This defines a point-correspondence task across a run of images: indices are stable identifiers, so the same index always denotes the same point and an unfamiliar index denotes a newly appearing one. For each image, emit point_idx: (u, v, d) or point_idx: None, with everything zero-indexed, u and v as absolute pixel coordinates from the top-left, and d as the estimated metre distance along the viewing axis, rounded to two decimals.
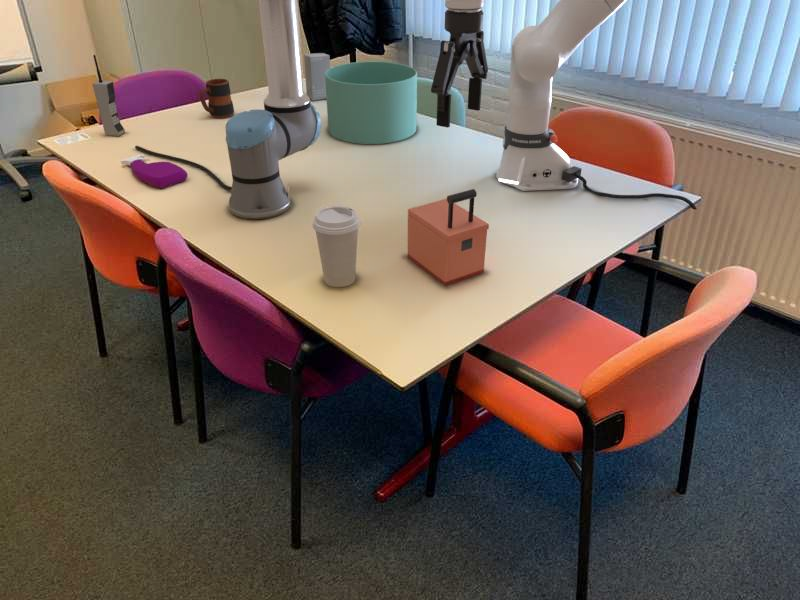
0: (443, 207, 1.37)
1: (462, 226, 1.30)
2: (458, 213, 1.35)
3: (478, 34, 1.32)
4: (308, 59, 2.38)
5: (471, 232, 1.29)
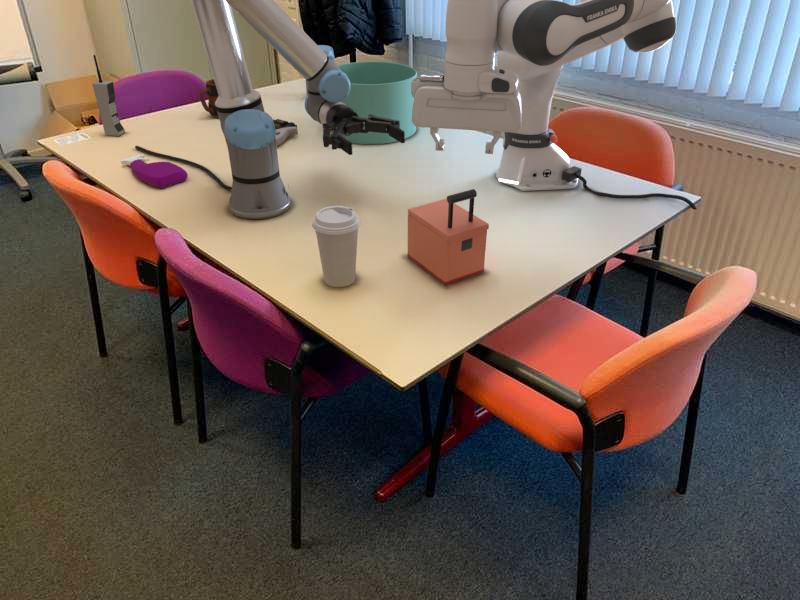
0: (443, 207, 1.37)
1: (462, 226, 1.30)
2: (458, 213, 1.35)
3: None
4: None
5: (471, 232, 1.29)
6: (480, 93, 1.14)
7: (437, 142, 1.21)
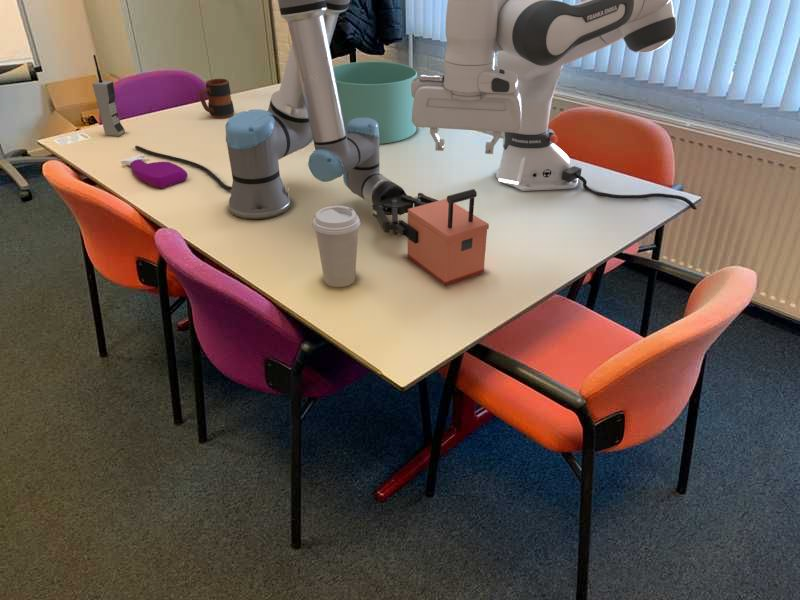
0: (443, 207, 1.37)
1: (462, 226, 1.30)
2: (458, 213, 1.35)
3: None
4: None
5: (471, 232, 1.29)
6: (480, 93, 1.14)
7: (437, 142, 1.21)
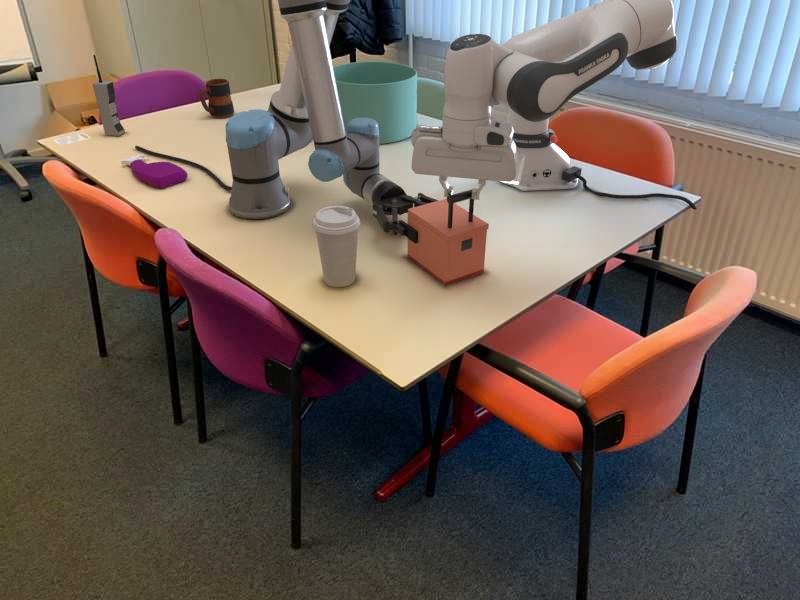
0: (443, 207, 1.37)
1: (462, 226, 1.30)
2: (458, 213, 1.35)
3: None
4: None
5: (471, 232, 1.29)
6: (476, 145, 1.19)
7: (446, 189, 1.26)
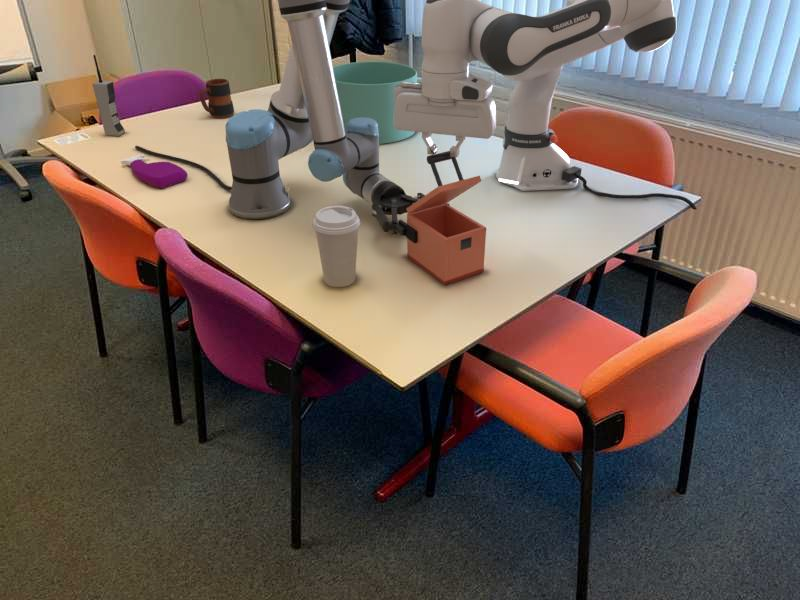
0: None
1: None
2: None
3: None
4: None
5: (463, 183, 1.27)
6: (453, 100, 1.21)
7: (429, 146, 1.28)
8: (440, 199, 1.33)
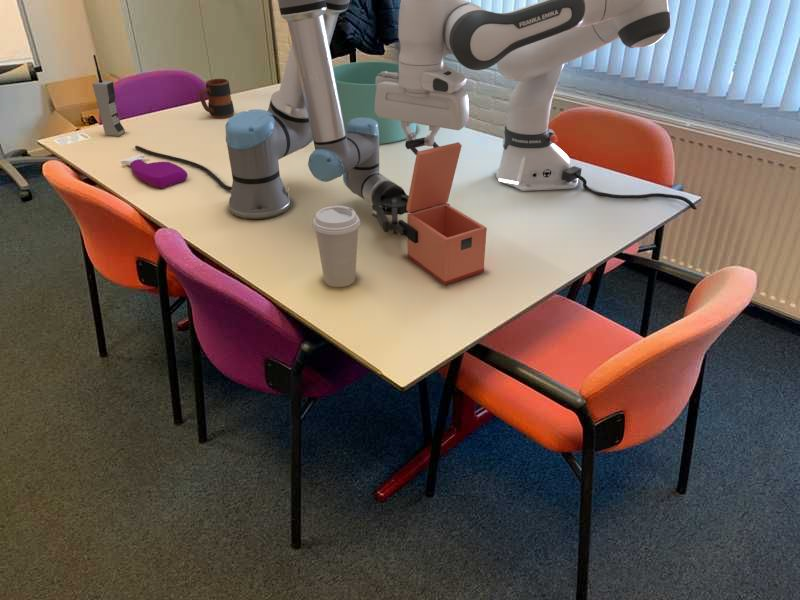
0: None
1: None
2: None
3: None
4: None
5: (442, 148, 1.29)
6: (427, 91, 1.26)
7: (407, 135, 1.34)
8: (432, 183, 1.34)
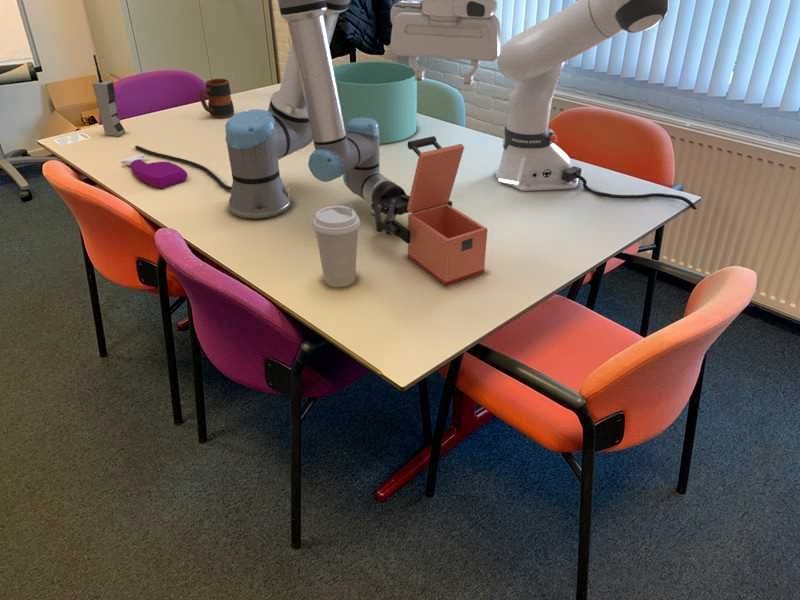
0: None
1: None
2: None
3: None
4: None
5: (445, 149, 1.29)
6: (457, 19, 1.13)
7: (416, 72, 1.21)
8: (434, 184, 1.34)
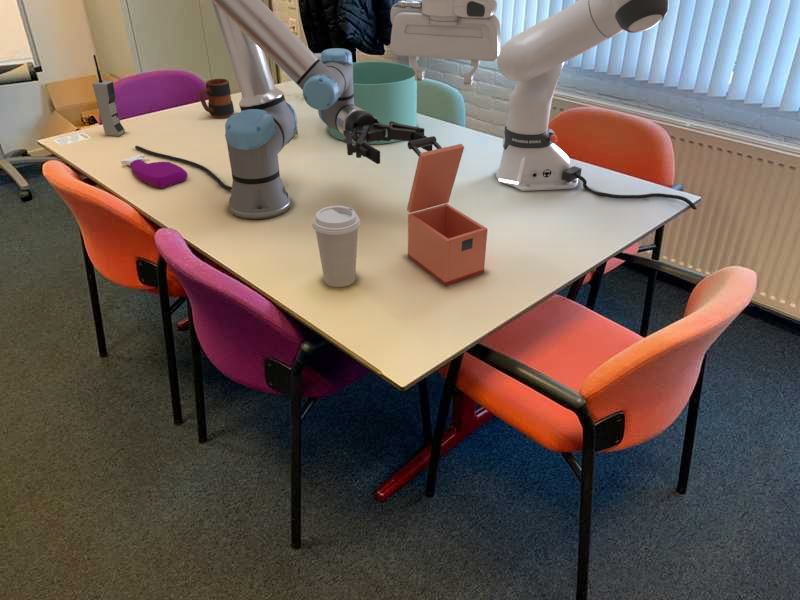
0: None
1: None
2: None
3: None
4: None
5: (445, 149, 1.29)
6: (457, 19, 1.13)
7: (416, 72, 1.21)
8: (434, 183, 1.34)
